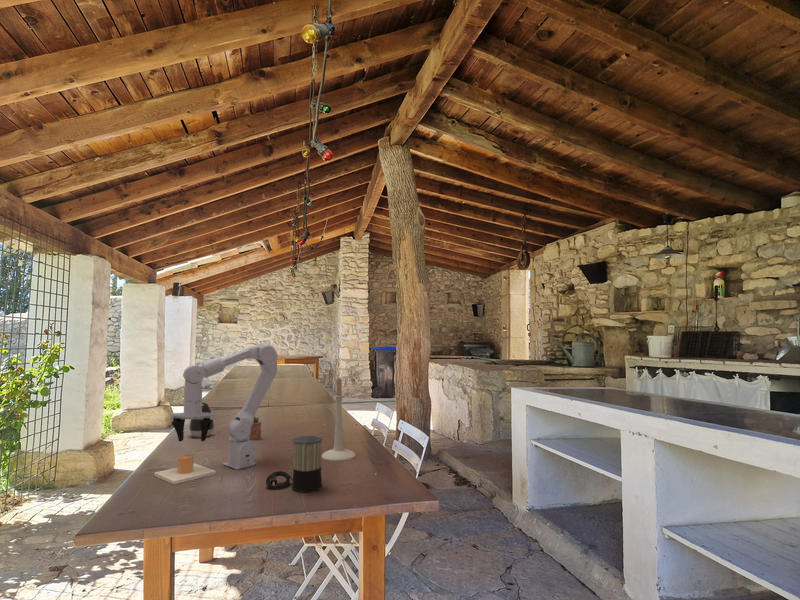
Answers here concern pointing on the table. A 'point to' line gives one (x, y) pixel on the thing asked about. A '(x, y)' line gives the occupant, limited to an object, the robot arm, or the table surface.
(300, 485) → the milk frother
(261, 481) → the table surface
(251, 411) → the robot arm
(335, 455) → the candlestick
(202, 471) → the post board
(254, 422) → the lighter
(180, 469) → the cap
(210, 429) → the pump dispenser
